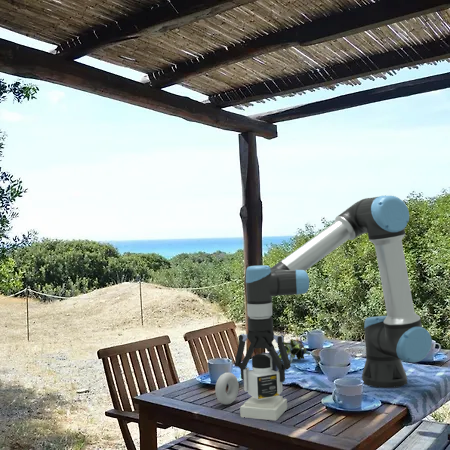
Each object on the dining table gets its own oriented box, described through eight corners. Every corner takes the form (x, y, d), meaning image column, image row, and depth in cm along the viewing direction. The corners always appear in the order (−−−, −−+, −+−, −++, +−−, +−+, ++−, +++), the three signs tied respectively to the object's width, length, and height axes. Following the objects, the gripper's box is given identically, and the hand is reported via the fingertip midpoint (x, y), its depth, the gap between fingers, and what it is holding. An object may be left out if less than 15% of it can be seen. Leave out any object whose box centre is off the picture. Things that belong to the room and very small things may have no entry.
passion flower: (299, 373, 229) (315, 350, 228) (290, 374, 220) (306, 350, 218) (278, 355, 234) (294, 333, 233) (269, 356, 225) (285, 333, 224)
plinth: (287, 408, 167) (286, 395, 167) (276, 420, 156) (275, 406, 157) (253, 405, 171) (252, 392, 171) (240, 417, 161) (240, 403, 161)
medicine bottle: (258, 400, 159) (256, 359, 159) (247, 394, 166) (245, 354, 166) (279, 396, 162) (277, 355, 162) (268, 390, 168) (266, 351, 169)
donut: (233, 399, 179) (232, 368, 179) (241, 400, 176) (240, 369, 177) (213, 407, 171) (212, 375, 171) (222, 409, 169) (220, 377, 169)
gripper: (299, 315, 163) (302, 390, 163) (230, 314, 172) (233, 385, 172) (292, 319, 156) (296, 397, 156) (221, 318, 165) (224, 392, 165)
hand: (263, 391), depth 164 cm, fingers closed on medicine bottle, 10 cm apart
